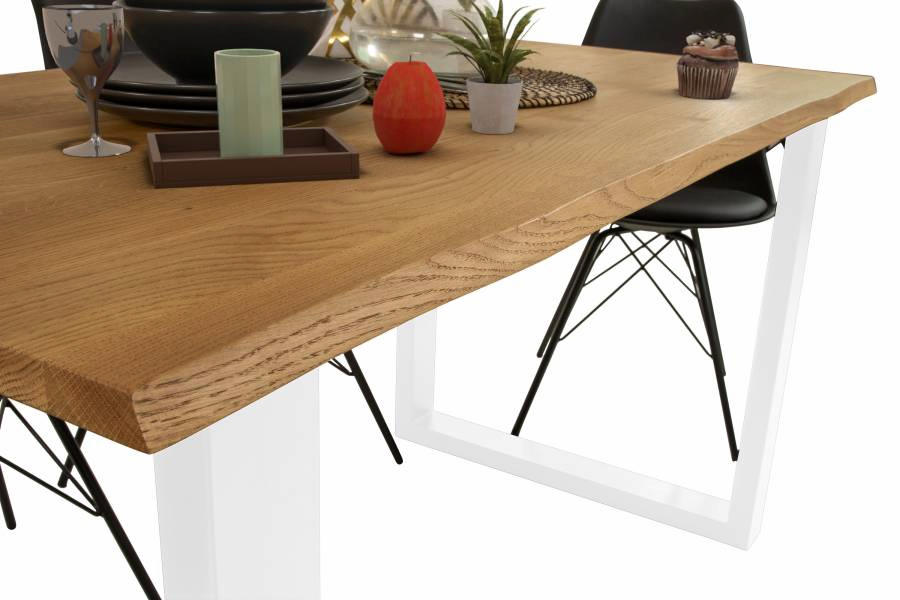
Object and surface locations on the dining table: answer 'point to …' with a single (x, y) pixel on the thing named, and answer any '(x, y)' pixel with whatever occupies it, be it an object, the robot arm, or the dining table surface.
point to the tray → (249, 159)
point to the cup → (249, 102)
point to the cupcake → (708, 66)
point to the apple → (409, 108)
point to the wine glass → (87, 59)
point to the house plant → (493, 71)
